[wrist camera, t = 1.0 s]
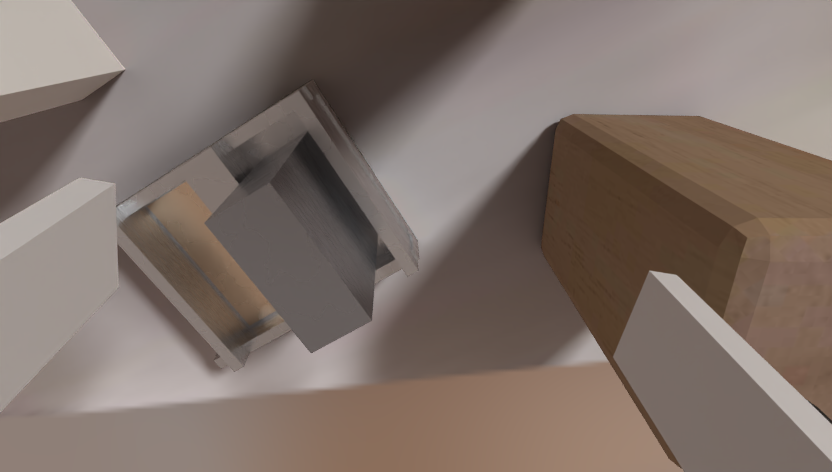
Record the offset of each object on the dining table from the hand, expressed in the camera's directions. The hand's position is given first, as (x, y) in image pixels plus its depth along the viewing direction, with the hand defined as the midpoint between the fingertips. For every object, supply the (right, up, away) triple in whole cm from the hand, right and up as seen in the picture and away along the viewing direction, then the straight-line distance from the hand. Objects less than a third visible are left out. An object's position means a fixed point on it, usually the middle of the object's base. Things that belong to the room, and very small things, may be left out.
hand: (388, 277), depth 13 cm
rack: (-9, +2, +23) cm, 25 cm away
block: (+14, +4, +23) cm, 27 cm away
